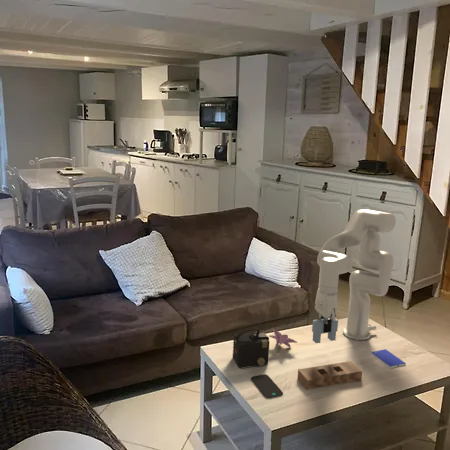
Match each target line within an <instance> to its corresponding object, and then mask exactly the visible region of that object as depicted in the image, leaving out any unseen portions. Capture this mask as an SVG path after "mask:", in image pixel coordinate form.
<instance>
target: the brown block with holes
mask: <svg viewBox="0 0 450 450" xmlns="http://www.w3.org/2000/svg"><path fill="white" fill-rule="evenodd" d="M362 378H363V370H362V369H361V368H359V366H357V365H356V364H355V363H354V362H352V360H348V361H342V362H337V363H336V362H335V363H330V364H324V365H319V366H318V365H317V366H311V367H305V368H299V369H297V380H298V381H299V382H300V383H301V385H302V386H303V387H304V389H306V390H312V389H313V390H314V389H319V388H324V387H331V386H336V385H337V386H338V385H341V384H342V385H343V384H348V383H354V382H358V381H362Z"/></svg>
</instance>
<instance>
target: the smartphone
mask: <svg viewBox="0 0 450 450" xmlns="http://www.w3.org/2000/svg"><path fill="white" fill-rule="evenodd" d="M250 381H251V382H252V384H253V385H254V386H255V387H256V388H257V390H258V391H259V392H260V394H261V395H262V396H263V398H265V399H267V400H270V399H275V398H280V397H283V396H284V392H283V390H281V388H279V386H278V385H277V384H276V383H275V382H274V381H273V379H272V378H271V377H270V376H269V375H268V374H267V373H266V374H265V373H264V374H259V375H253V376H251V377H250Z"/></svg>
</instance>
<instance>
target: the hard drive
mask: <svg viewBox="0 0 450 450" xmlns="http://www.w3.org/2000/svg"><path fill="white" fill-rule="evenodd" d="M370 354H371V355H372V356H373V357H374V358H376V359H377V360H379V361H380V362H381V363H383V364H384V365H385V366H387V367H388V368H389V369H393V368H397V367H402V366H405V365H407V363H406V362H405V361H404V360H402V359H400V358H399V357H398V356H396V355H395V354H393V353H392V352H390V351H389V350H388V349H386V348H385V349H378V350H374V351H371V352H370Z"/></svg>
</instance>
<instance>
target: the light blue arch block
mask: <svg viewBox="0 0 450 450" xmlns="http://www.w3.org/2000/svg"><path fill="white" fill-rule="evenodd" d="M329 319H330V318H328V320H329ZM324 323H325V318H324V319H319V318H318V319H313V320H312V324H311V325H312V326H311V332H312V341H313V342H314V343H315V344H320V343H321V339H322V338H321V337H322V334H325V333H324V332H323V331H324ZM338 328H339V320H338V319H337V318H336V322H333V323H332V325H331V332H327V333H326V334H327V339H328V340H329V341H331V342H332V341H336V339H337V337H336V336H337V332H338Z"/></svg>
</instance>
